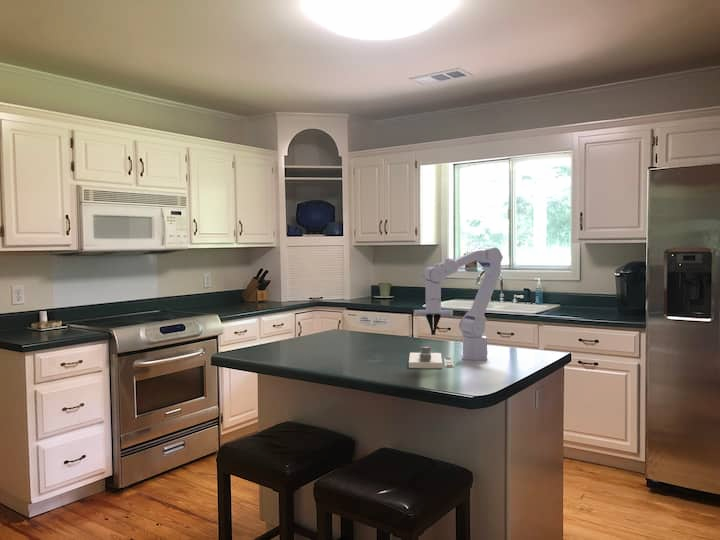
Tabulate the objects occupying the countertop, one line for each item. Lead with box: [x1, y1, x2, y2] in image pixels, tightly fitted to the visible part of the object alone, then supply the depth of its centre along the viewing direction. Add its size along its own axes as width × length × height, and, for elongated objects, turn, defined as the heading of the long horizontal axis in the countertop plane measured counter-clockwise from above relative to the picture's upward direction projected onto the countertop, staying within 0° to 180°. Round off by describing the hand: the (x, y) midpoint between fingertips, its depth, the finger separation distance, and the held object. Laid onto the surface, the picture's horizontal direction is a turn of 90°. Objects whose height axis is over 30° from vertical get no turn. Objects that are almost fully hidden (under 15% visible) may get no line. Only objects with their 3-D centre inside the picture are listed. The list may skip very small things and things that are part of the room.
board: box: [408, 352, 443, 369], centre depth 219 cm, size 12×18×2 cm, turn 174°
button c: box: [420, 354, 431, 362], centre depth 213 cm, size 4×4×4 cm
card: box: [443, 357, 455, 368], centre depth 219 cm, size 3×14×1 cm, turn 173°
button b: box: [419, 345, 432, 354], centre depth 219 cm, size 4×4×4 cm
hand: (433, 334), depth 221 cm, fingers closed
